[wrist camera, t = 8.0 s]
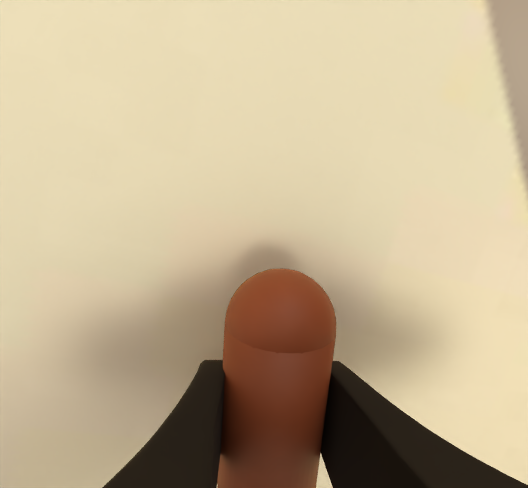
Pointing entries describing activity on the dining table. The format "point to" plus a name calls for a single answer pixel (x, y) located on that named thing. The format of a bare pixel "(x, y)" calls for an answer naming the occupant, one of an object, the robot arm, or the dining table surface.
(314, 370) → the sausage
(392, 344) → the dining table surface
